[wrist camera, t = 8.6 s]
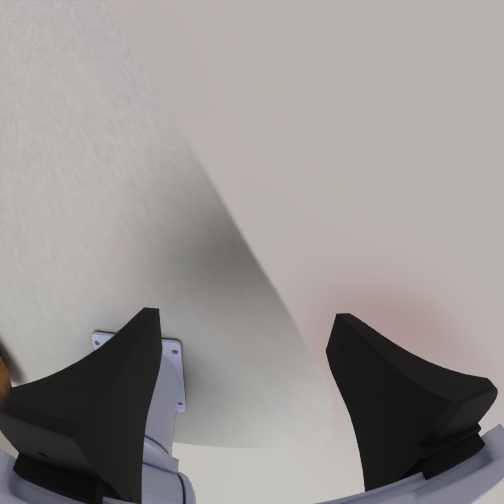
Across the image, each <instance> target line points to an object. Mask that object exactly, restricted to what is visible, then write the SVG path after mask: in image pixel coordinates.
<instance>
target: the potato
mask: <svg viewBox="0 0 504 504" xmlns="http://www.w3.org/2000/svg"><path fill="white" fill-rule="evenodd" d="M10 388H12V385H11V381H10V376H9V372H8V370H7V368H6V366H5V364H4V362H3V360H2V357H1V356H0V405H1V403H2V402H3V400H4V398H5V396H6V395H7V393H8V391H9V390H10Z"/></svg>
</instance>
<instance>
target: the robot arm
mask: <svg viewBox="0 0 504 504" xmlns="http://www.w3.org/2000/svg"><path fill="white" fill-rule="evenodd" d="M91 339H92V343H93V347H94V350H95V351H93V352H92V353H91V354H89V355H87V356H86V357H84V358H83V359H81V360H80V361H78V362H76V363H74V364H72V365H70V366H69V367H67V368H65V369H63V370H61V371H59V372H57V373H54V374H52V375H50V376H47V377H45V378H42V379H40V380H37V381H34V382H31V383H27V384H24V385H20V386H16V387H12V388H10V390H9V391H8V393H7V395H6V396H5V398H4V400H3V402H2V403H1V405H0V430H1V432H2V433H3V434H4V436H5V437H6V438H7V439H8V440H9V441H10V443H11V444H12V445H13V446H14V447H15V449H16V450H17V451H18V452H19V455H18V457H17V459H15V458H14V457H13V456H11V455H10V454H8V453H6V452H4V451H3V450H1V449H0V504H196V497H195V492H194V490H193V487H192V485H191V482H190V480H189V478H188V477H187V476H186V475H184V474H183V473H180V472H178V462H179V460H178V459H176V458H174V457H172V456H171V455H172V445H173V435H174V425H175V415H176V412H185V411H186V400H185V390H184V378H183V365H182V351H181V343H180V342H178V341H176V340H165V339H162V337H161V327H160V315H159V309H158V308H145V307H144V308H143V309H142V310H141V311H140V312H139V313H138V314H136V315H135V316H134V317H133V318H132V319H131V320H130V321H129V322H128V323H127V324H126V325H125V326H124V327H123V328H122V329H121V330H119V331H118V332H117V333H116V334H109V333H102V332H93V333H92V335H91ZM97 341H98V342H99V343H98V342H97ZM173 350H177V351H173ZM326 354H327V358H328V362H329V366H330V369H331V372H332V374H333V377H334V379H335V381H336V384H337V386H338V388H339V390H340V393H341V395H342V397H343V400H344V402H345V404H346V407H347V409H348V412H349V414H350V417H351V420H352V424H353V427H354V431H355V435H356V439H357V443H358V448H359V452H360V458H361V463H362V469H363V477H364V486H365V492H363V493H360V494H356V495H352V496H349V497H345V498H341V499H336V500H331V501H327V502H321V503H316V504H472V503H474V502H475V501H477V500H478V499H480V498H481V497H482V496H484V495H485V494H486V493H487V492H489V491H490V490H492V489H493V488H494V487H495V486H497V485H498V484H499V483H500V482H502V481H503V480H504V428H503V427H502V425H501V424H499V425H497V426H496V427H494V428H493V429H491V430H489V431H488V432H486V433H485V434H484V435H483V436H482V437H480V436H479V434H478V432H479V431H480V430H481V427H480V425H479V424H478V422H479V421H480V420H481V419H482V417H483V416H484V415H485V414H486V412H487V411H488V410H489V409H490V407H491V406H492V404H493V403H494V401H495V399H496V397H497V393H498V390H497V388H496V387H495V386H494V385H493V384H492V382H491V381H490V380H489V379H488V378H483V377H478V376H472V375H467V374H463V373H459V372H456V371H452V370H449V369H446V368H443V367H441V366H438V365H435V364H433V363H430V362H428V361H426V360H424V359H422V358H420V357H418V356H416V355H414V354H412V353H410V352H408V351H406V350H405V349H403V348H401V347H400V346H398V345H396V344H395V343H393V342H392V341H390V340H389V339H387V338H386V337H384V336H382V335H381V334H380V333H378V332H377V331H375V330H374V329H373V328H371V327H370V326H368V325H367V324H365V323H364V322H362V321H361V320H360V319H358V318H356V317H355V316H353V315H351V314H349V313H342V314H336V318H335V321H334V325H333V328H332V331H331V335H330V338H329V342H328V345H327V348H326Z"/></svg>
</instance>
